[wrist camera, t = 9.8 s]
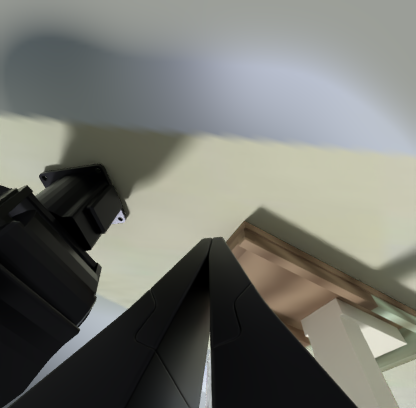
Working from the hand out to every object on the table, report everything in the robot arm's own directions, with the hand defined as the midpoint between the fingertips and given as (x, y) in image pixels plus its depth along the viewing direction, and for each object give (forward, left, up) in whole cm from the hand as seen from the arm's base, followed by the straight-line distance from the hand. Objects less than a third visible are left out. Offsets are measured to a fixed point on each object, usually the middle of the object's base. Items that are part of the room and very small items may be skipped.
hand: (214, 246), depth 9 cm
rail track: (+8, -22, -12) cm, 26 cm away
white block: (+14, -26, -11) cm, 31 cm away
